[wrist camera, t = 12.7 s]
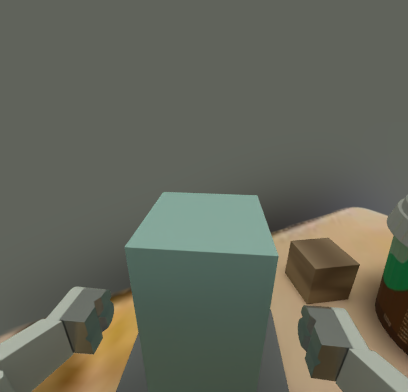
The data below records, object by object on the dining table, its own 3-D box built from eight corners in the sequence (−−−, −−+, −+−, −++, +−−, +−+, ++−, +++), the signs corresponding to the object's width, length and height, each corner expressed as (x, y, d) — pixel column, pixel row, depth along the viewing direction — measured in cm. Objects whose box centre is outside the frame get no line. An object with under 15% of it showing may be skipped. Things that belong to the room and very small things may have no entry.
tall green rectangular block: (242, 334, 16) (256, 193, 12) (249, 433, 11) (278, 256, 7) (174, 328, 16) (164, 190, 12) (153, 421, 12) (124, 247, 7)
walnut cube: (320, 269, 24) (328, 237, 22) (347, 299, 20) (359, 264, 18) (285, 273, 23) (291, 241, 21) (306, 304, 19) (315, 269, 18)
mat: (269, 316, 18) (270, 309, 18) (314, 534, 9) (319, 527, 9) (151, 307, 19) (150, 300, 19) (82, 497, 10) (78, 490, 9)
